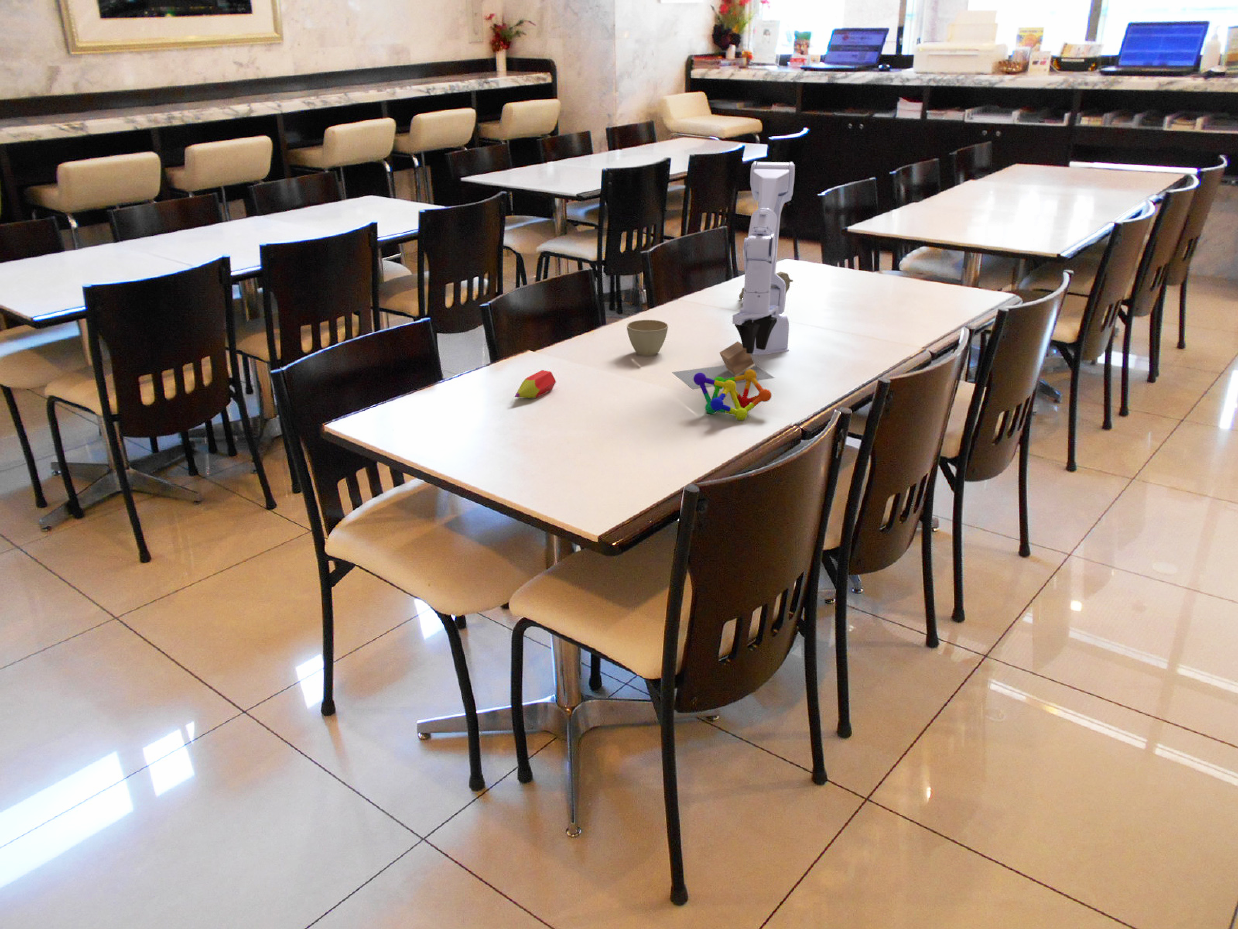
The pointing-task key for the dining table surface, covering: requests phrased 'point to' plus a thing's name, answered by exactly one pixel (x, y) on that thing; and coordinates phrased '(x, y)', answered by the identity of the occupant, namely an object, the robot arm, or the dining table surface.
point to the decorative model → (732, 394)
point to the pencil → (536, 385)
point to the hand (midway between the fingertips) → (754, 350)
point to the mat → (716, 375)
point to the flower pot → (647, 336)
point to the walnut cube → (737, 359)
